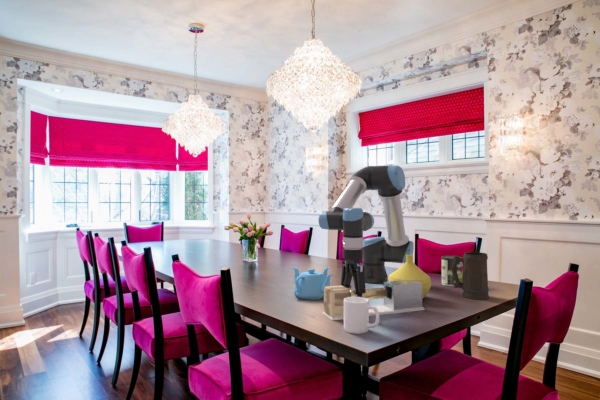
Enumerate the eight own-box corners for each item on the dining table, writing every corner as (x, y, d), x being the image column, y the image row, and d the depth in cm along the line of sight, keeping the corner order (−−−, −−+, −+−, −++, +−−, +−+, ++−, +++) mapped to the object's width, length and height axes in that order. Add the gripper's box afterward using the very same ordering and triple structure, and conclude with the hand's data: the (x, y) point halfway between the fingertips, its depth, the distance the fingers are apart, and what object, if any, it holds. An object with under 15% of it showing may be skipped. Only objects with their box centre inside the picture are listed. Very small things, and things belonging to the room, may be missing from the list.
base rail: (322, 313, 151) (322, 311, 151) (410, 304, 165) (410, 302, 165) (331, 320, 142) (331, 318, 142) (424, 310, 156) (424, 307, 156)
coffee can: (466, 284, 203) (466, 257, 203) (456, 287, 196) (456, 259, 196) (447, 281, 211) (447, 255, 211) (437, 284, 204) (437, 256, 204)
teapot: (328, 291, 188) (328, 265, 188) (333, 301, 170) (333, 272, 170) (292, 291, 188) (292, 265, 188) (293, 301, 169) (293, 272, 169)
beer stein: (489, 295, 181) (486, 251, 181) (492, 300, 171) (488, 254, 171) (453, 294, 186) (450, 252, 186) (454, 300, 176) (450, 254, 176)
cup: (349, 324, 138) (349, 295, 138) (382, 330, 132) (382, 299, 132) (339, 331, 131) (339, 300, 131) (375, 337, 125) (375, 305, 125)
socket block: (323, 314, 150) (323, 286, 150) (341, 312, 153) (341, 285, 153) (331, 319, 144) (331, 290, 143) (349, 317, 146) (349, 289, 146)
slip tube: (381, 296, 157) (381, 286, 157) (387, 299, 153) (387, 288, 153) (335, 301, 150) (335, 290, 150) (340, 303, 146) (340, 292, 146)
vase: (408, 306, 162) (408, 259, 162) (379, 296, 178) (379, 253, 178) (440, 300, 171) (440, 256, 171) (410, 291, 187) (410, 251, 187)
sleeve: (383, 307, 159) (383, 281, 159) (411, 305, 164) (411, 279, 164) (393, 312, 153) (393, 285, 152) (422, 309, 157) (422, 282, 157)
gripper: (332, 245, 159) (332, 302, 159) (357, 252, 139) (357, 316, 139) (349, 245, 161) (348, 300, 161) (375, 251, 142) (375, 314, 142)
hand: (352, 308), depth 150 cm, fingers open, 8 cm apart
